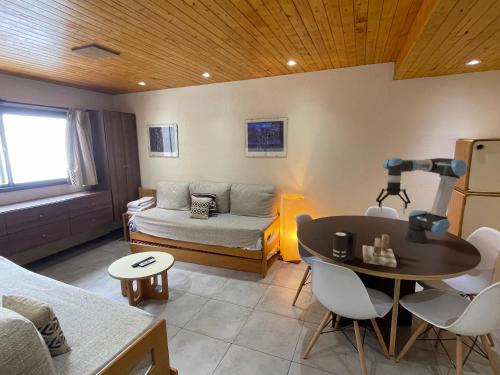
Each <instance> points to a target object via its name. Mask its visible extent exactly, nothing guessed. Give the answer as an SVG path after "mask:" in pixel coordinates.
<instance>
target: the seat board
mask: <svg viewBox="0 0 500 375" xmlns="http://www.w3.org/2000/svg"><path fill="white" fill-rule="evenodd" d="M381 239H382V248H381V253H380V257H376V256H374V246H373V245H372V246H371V245H362V257H363V258H362V260H363V263H365V264H372V265H379V266H384V267H389V268H390V267H391V268H397V260H396V257H395V255H394V252H393V249H392V248H389V245H390V244H389V241H390V235H389V234H386V233H383V234H381Z"/></svg>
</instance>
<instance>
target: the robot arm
mask: <svg viewBox="0 0 500 375" xmlns="http://www.w3.org/2000/svg"><path fill="white" fill-rule="evenodd" d="M382 167H383V168H384V169H385V170H388V171H387V172H388V175H387V187H386V188H384V187H382V188H381V191H380V192H379V194H378V196H377V197H376V199H375V202H377V203H378V208H379V212H380V213H382V211H383V210H382V209H383V203H382V202H383V201H384V200H386V198H388V197H389V196H395V197H396V196H398V198H400V199H401V200H402V201H403V203H402V214H406V209H407V208H408V205H409V204H411V200H410V198H409V196H408V194H407V190H406V188H403V189H402V188H401V181H402V173H406V172H407V173H409V172H410V173H411V172H414V171H423V172H424V173H426V172H427V173H433V174H437V175H439V178H440V180H439V185H438V187H437V191H436V195H435V197H434V201H433V205H432V208H431V210H429V211H426V210H417V209H416V210H411V211H410V212H409V213H408V214H409V215H408V225H407V230H406V231H405V233H404V235H403V236H404V239H405V240H407V241H409V242H412V243H418V244H426V243H428V236H427V232H430V233H432V234H437V235H443V234H446V233H447V231H448V230H449V229H450V226H451V224H450V221H449V220H448V215H447V212H448V208H449V205H450V202H451V199H452V196H453V192H454V189H455V185H456V184H457V181H459V180H460V178H461V177H464V176H465V175H466V174H467V170H468V166H467V163H466V162H465V161H464V160H463V159H461V158H444V157H440V158H439V157H436V158H425V159H403V158H401V157H391V158H386V159H385V160H383V163H382ZM385 192H386V193H385ZM401 192H402V193H403V195H404V196H405V198H404V197H403V196H402V195H401V194H400V193H401ZM384 193H385V194H384Z"/></svg>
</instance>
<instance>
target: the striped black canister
mask: <svg viewBox="0 0 500 375" xmlns="http://www.w3.org/2000/svg"><path fill="white" fill-rule="evenodd" d="M332 246H333V247H332V261H333V262H335V263H339V264H345V263H346V261H347V259H349V260H351V261H353V260H355V258H356V246H357V232H355V231H352V230H348V229H345V228H343V229H341V231H335V232H333V245H332Z"/></svg>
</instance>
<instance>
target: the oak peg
mask: <svg viewBox="0 0 500 375" xmlns="http://www.w3.org/2000/svg"><path fill="white" fill-rule="evenodd" d="M373 247H374V256H376V257H380V253H381V248H382V237H375V238H374V246H373Z"/></svg>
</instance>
